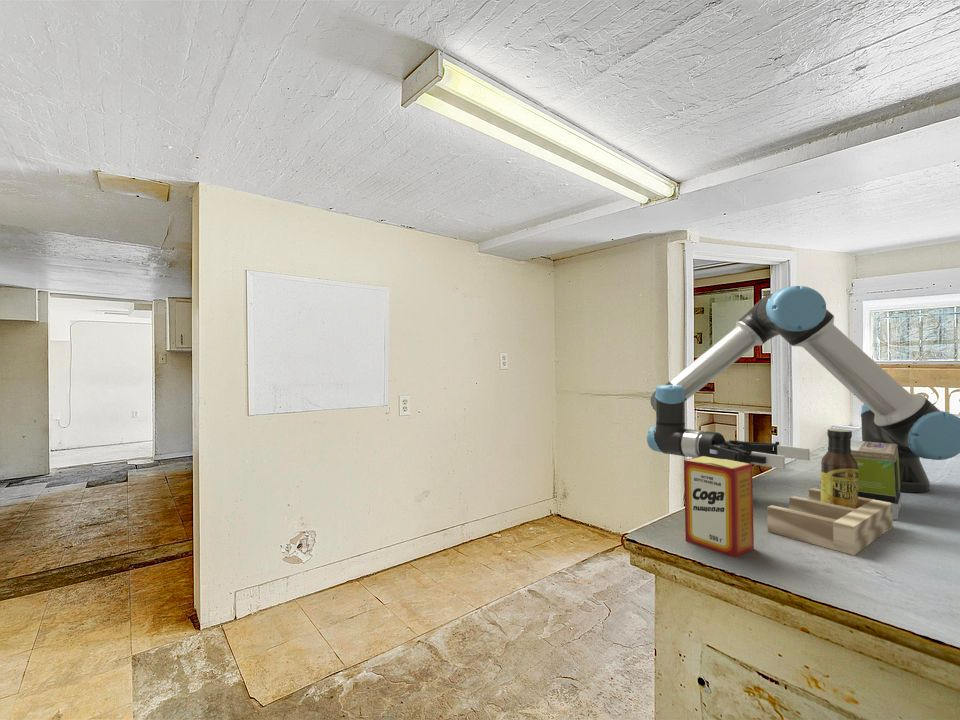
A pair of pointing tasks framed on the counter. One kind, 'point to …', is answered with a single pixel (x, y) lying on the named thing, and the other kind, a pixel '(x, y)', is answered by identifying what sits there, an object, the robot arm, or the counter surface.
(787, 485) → the counter surface
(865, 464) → the tea box
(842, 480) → the sauce bottle
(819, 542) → the comb rack
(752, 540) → the baking soda box
